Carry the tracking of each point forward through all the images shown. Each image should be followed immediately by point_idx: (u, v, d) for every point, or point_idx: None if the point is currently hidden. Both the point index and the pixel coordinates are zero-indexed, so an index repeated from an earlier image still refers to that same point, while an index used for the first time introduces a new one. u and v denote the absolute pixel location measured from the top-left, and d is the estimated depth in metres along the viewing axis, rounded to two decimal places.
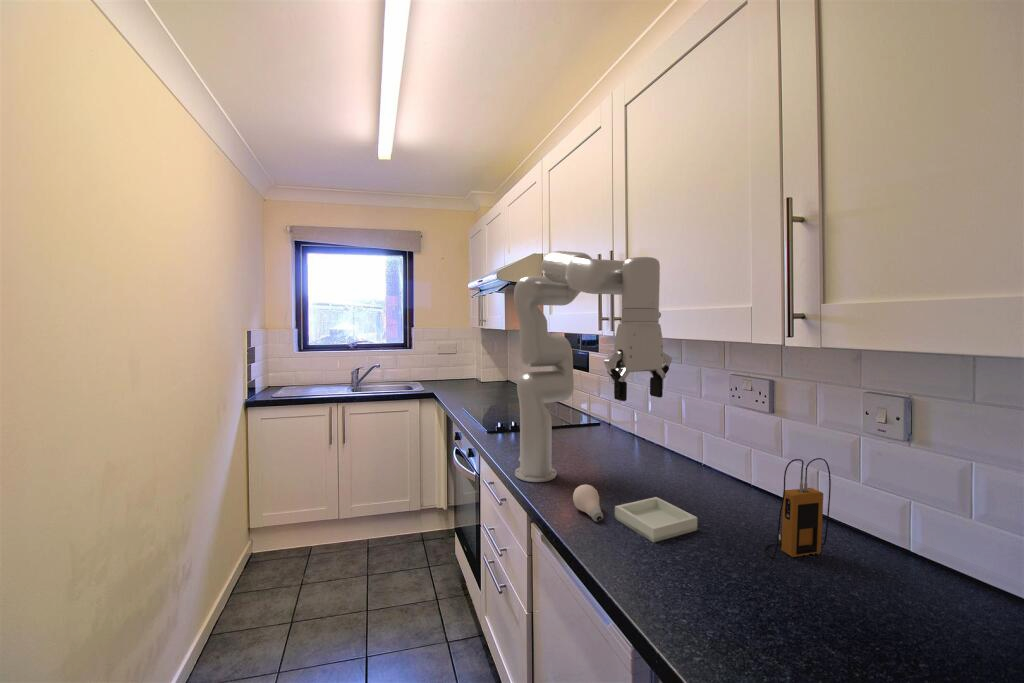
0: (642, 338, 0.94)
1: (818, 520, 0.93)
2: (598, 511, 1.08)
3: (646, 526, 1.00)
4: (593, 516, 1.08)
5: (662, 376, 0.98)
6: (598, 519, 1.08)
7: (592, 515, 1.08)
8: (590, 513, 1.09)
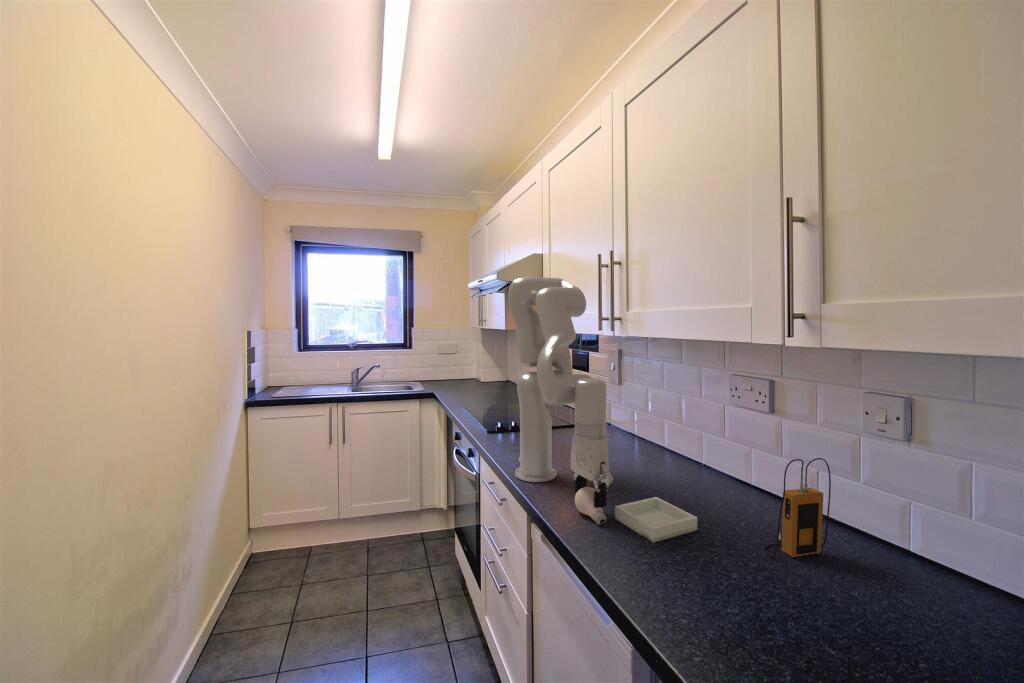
0: None
1: (818, 520, 0.93)
2: (601, 514, 1.06)
3: (646, 526, 1.00)
4: (596, 519, 1.06)
5: None
6: (601, 522, 1.06)
7: (595, 518, 1.07)
8: (593, 516, 1.07)
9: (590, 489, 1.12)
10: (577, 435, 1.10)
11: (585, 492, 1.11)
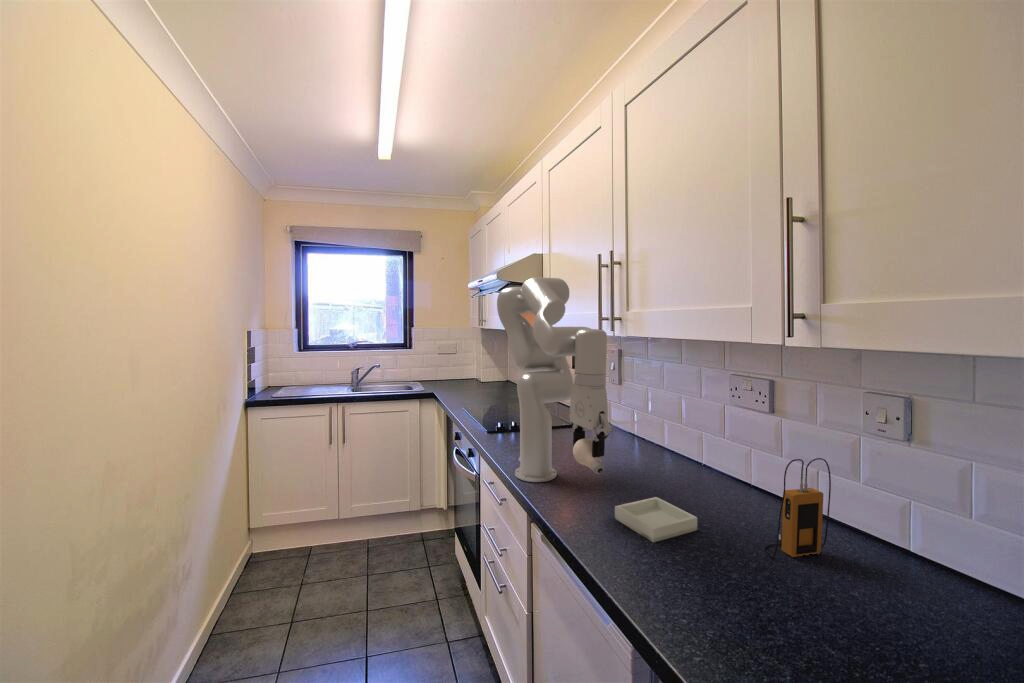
0: None
1: (818, 520, 0.93)
2: (599, 463, 1.07)
3: (646, 526, 1.00)
4: (594, 468, 1.06)
5: None
6: (599, 471, 1.06)
7: (593, 467, 1.07)
8: (591, 465, 1.08)
9: (589, 440, 1.12)
10: (577, 385, 1.10)
11: (584, 443, 1.11)
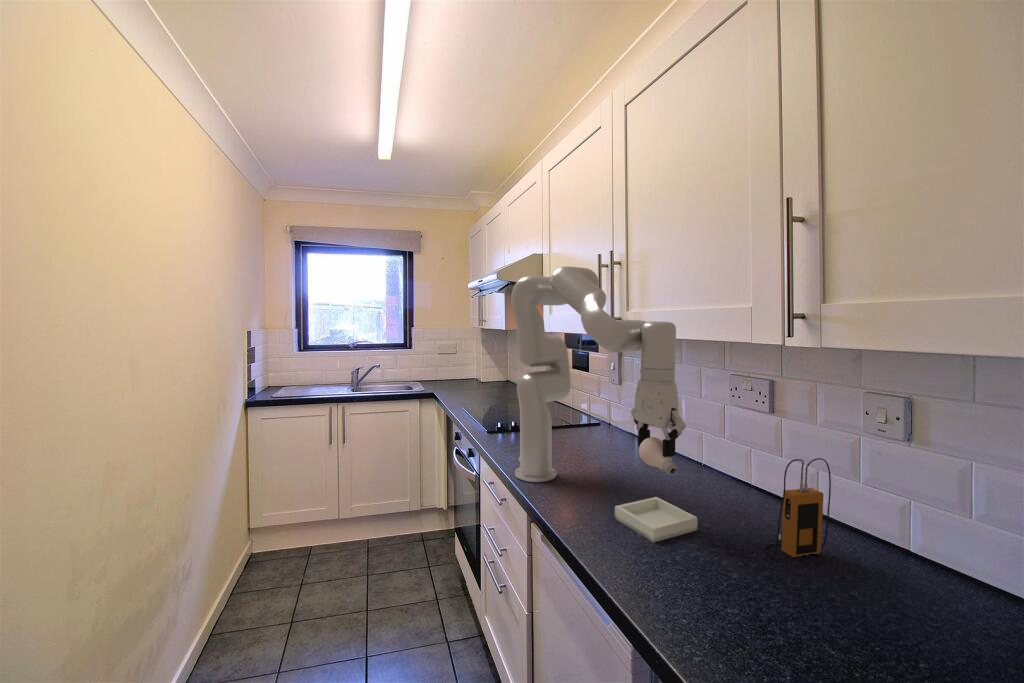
0: None
1: (818, 520, 0.93)
2: (672, 463, 1.00)
3: (646, 526, 1.00)
4: (666, 468, 1.00)
5: None
6: (672, 471, 1.00)
7: (665, 467, 1.00)
8: (662, 466, 1.01)
9: (656, 439, 1.06)
10: (644, 381, 1.04)
11: (652, 442, 1.05)
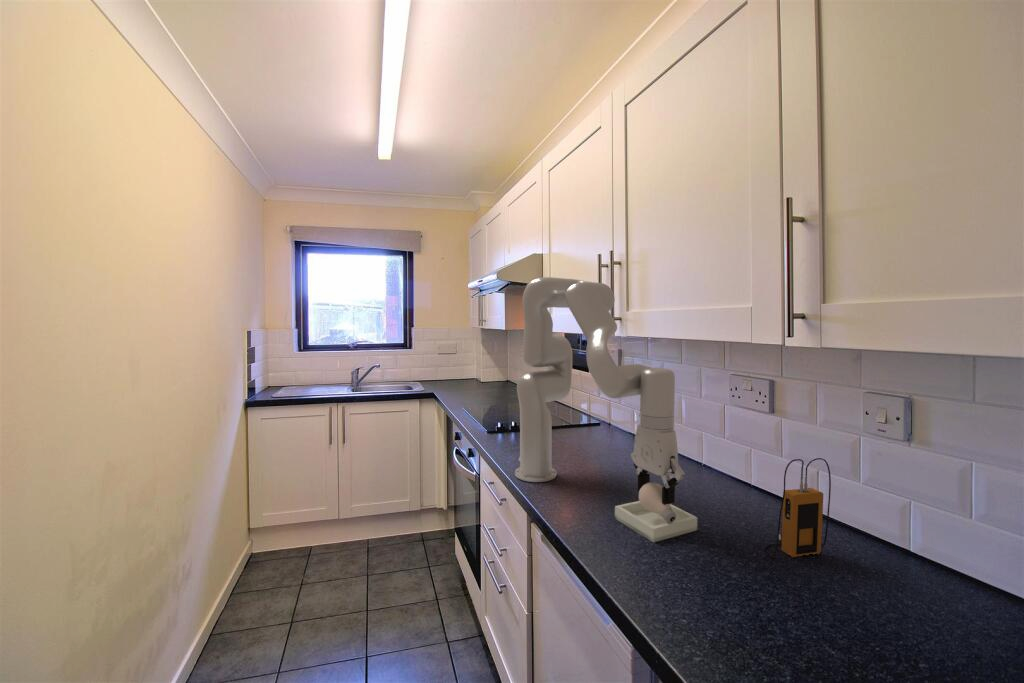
0: None
1: (818, 520, 0.93)
2: (671, 511, 1.01)
3: (646, 526, 1.00)
4: (666, 517, 1.01)
5: None
6: (671, 520, 1.00)
7: (665, 515, 1.01)
8: (662, 513, 1.02)
9: (656, 485, 1.06)
10: (644, 428, 1.04)
11: (651, 488, 1.06)
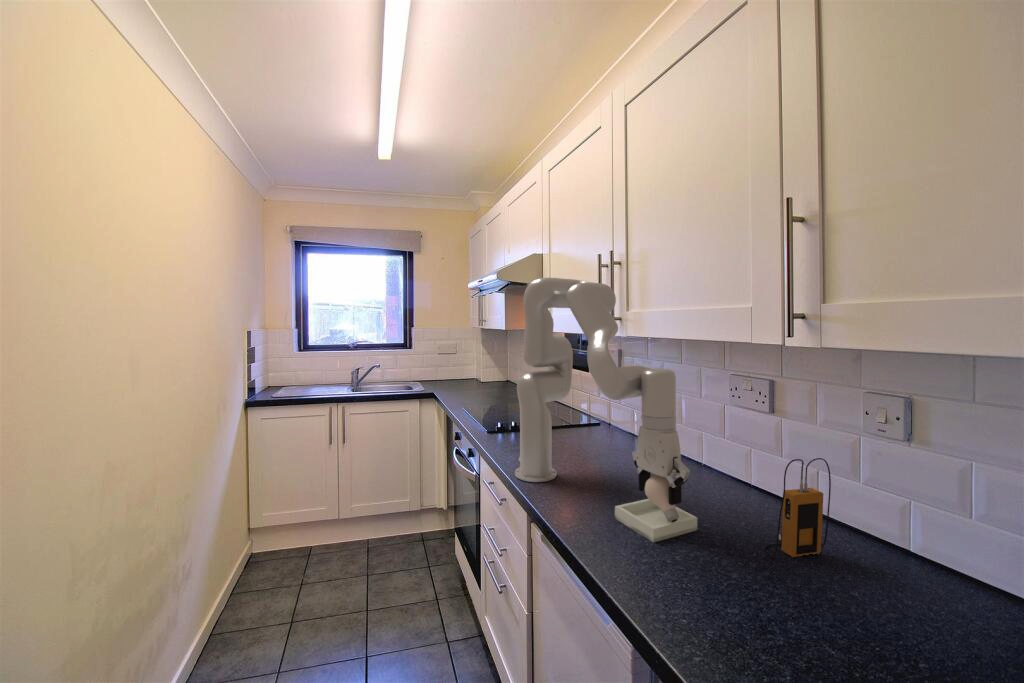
0: None
1: (818, 520, 0.93)
2: (675, 514, 1.00)
3: (646, 526, 1.00)
4: (669, 517, 1.00)
5: None
6: (673, 521, 1.00)
7: (667, 516, 1.00)
8: (665, 512, 1.01)
9: (666, 481, 1.04)
10: (646, 429, 1.04)
11: (661, 484, 1.03)
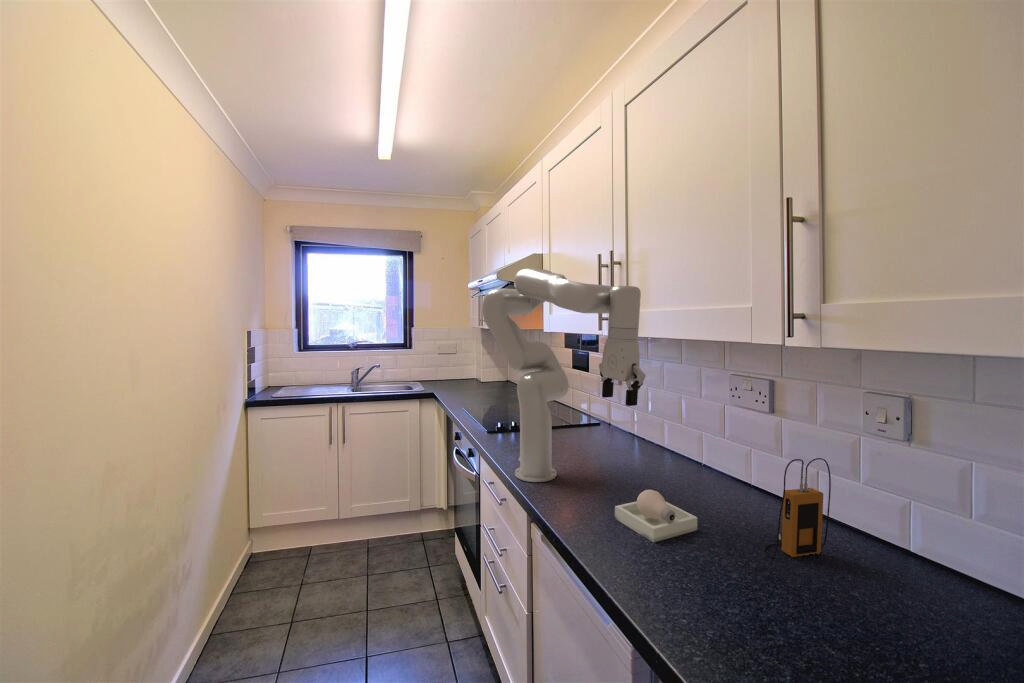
0: None
1: (818, 520, 0.93)
2: (669, 509, 1.01)
3: (646, 526, 1.00)
4: (665, 515, 1.01)
5: None
6: (671, 518, 1.00)
7: (664, 515, 1.01)
8: (661, 514, 1.02)
9: (651, 490, 1.08)
10: (610, 339, 1.15)
11: (647, 493, 1.07)
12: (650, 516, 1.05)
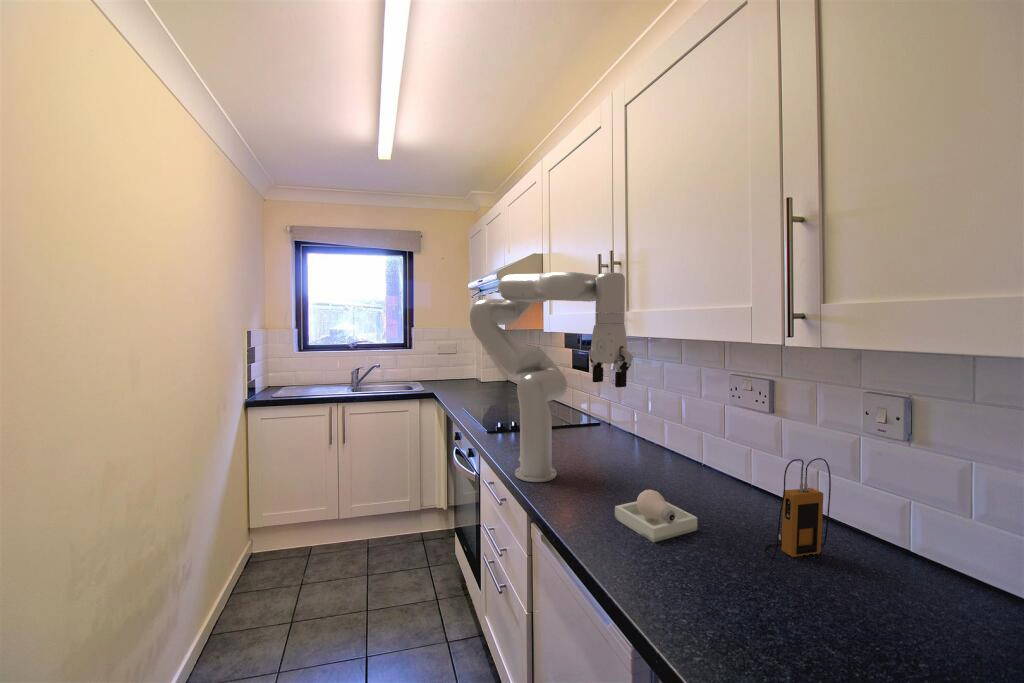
0: None
1: (818, 520, 0.93)
2: (669, 510, 1.01)
3: (646, 526, 1.00)
4: (665, 516, 1.01)
5: None
6: (671, 518, 1.00)
7: (664, 515, 1.01)
8: (661, 514, 1.02)
9: (651, 490, 1.08)
10: (598, 324, 1.20)
11: (647, 493, 1.07)
12: (650, 516, 1.05)
